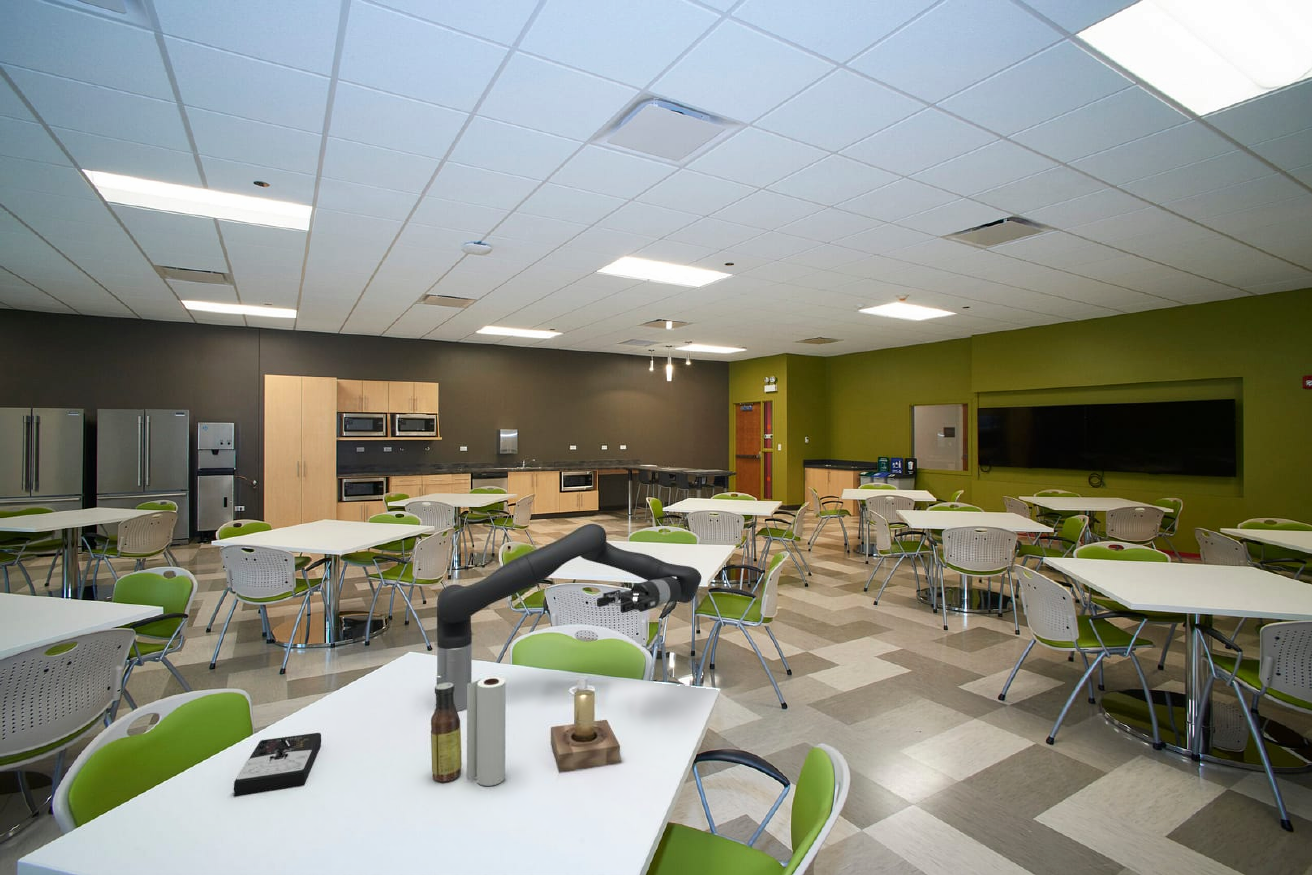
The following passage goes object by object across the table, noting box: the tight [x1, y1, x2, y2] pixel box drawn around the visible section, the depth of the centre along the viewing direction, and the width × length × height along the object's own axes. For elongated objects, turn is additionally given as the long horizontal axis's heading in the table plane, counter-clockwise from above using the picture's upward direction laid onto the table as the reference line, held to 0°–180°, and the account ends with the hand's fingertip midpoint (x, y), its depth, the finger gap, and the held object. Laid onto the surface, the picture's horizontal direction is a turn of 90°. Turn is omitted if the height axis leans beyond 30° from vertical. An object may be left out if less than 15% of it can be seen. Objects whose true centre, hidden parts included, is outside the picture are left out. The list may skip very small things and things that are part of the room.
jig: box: [550, 719, 621, 774], centre depth 146 cm, size 14×14×4 cm
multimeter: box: [233, 732, 322, 797], centre depth 139 cm, size 13×19×5 cm
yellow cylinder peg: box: [573, 688, 596, 743], centre depth 146 cm, size 5×5×14 cm
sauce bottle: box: [430, 683, 463, 783], centre depth 136 cm, size 6×6×20 cm
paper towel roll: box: [466, 676, 507, 787], centre depth 135 cm, size 7×6×21 cm
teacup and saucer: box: [568, 675, 596, 696], centre depth 183 cm, size 9×8×4 cm
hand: (609, 605), depth 158 cm, fingers open, 8 cm apart
